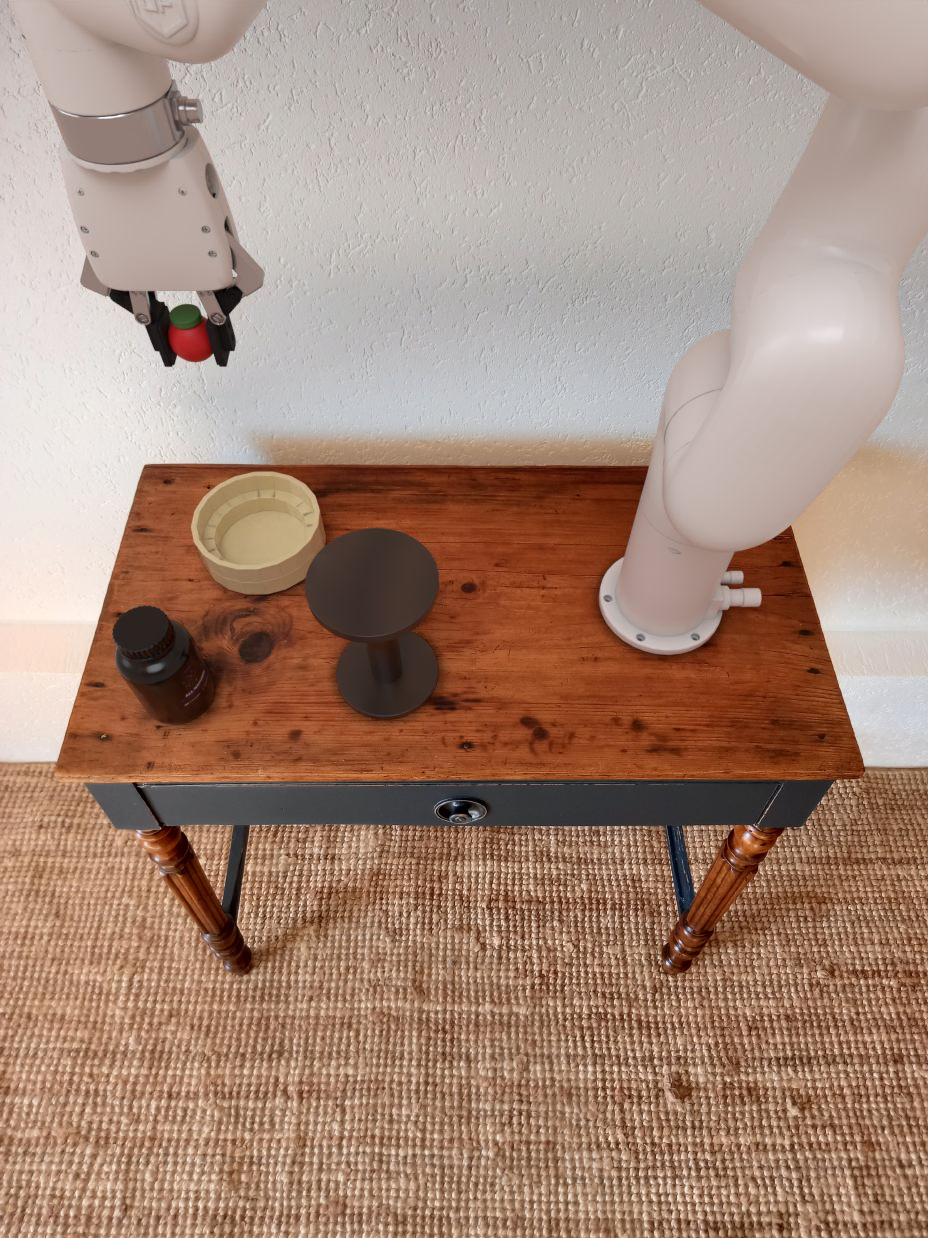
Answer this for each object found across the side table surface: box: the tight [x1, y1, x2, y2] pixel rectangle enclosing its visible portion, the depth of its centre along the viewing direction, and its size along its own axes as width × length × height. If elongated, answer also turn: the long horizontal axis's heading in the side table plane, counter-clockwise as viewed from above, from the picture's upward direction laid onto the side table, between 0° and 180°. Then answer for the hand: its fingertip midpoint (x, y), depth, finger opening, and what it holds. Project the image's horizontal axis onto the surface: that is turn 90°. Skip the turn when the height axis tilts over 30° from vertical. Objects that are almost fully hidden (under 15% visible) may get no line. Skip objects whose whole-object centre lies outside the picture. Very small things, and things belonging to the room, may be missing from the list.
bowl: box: [190, 471, 327, 595], centre depth 86 cm, size 13×13×5 cm
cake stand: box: [304, 527, 440, 721], centre depth 72 cm, size 11×11×16 cm
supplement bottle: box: [111, 605, 216, 725], centre depth 73 cm, size 7×7×12 cm
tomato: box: [168, 303, 214, 363], centre depth 64 cm, size 4×4×4 cm
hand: (198, 353), depth 66 cm, fingers closed on tomato, 3 cm apart
